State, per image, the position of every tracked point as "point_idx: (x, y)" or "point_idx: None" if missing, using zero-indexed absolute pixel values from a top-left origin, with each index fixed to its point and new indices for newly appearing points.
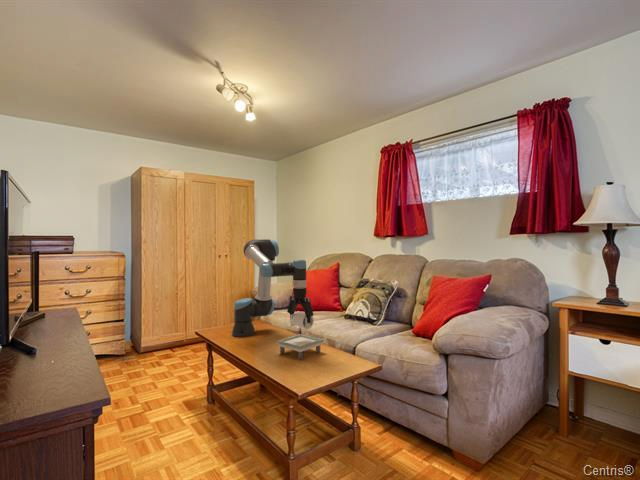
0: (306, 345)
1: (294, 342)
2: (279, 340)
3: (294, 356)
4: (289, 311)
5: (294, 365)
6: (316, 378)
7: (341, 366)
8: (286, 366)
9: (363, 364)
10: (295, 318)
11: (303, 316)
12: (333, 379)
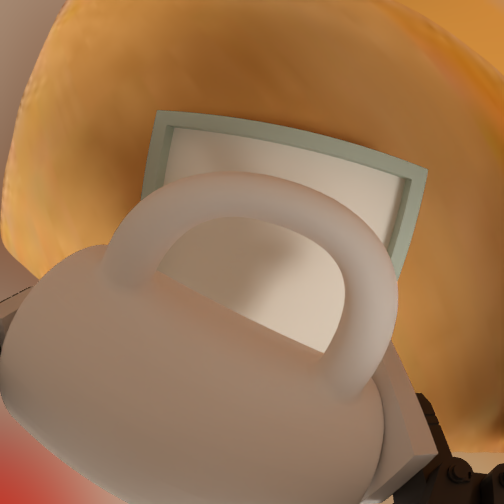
0: (145, 175)
1: (302, 239)
2: (416, 182)
3: None
4: (480, 499)
5: (188, 62)
6: (71, 42)
7: (42, 178)
8: (217, 34)
9: (17, 236)
10: (289, 392)
11: (18, 338)
12: (36, 75)
